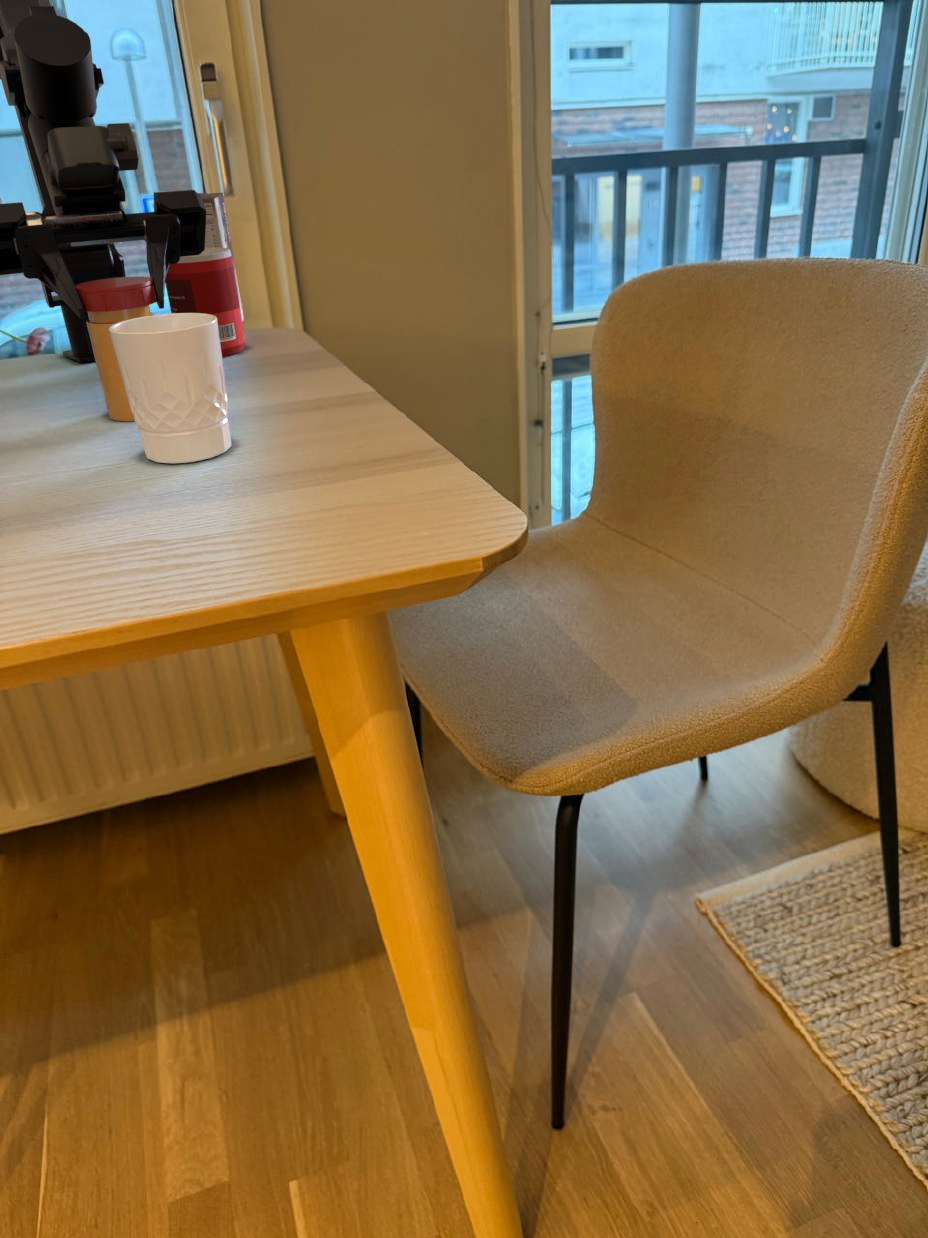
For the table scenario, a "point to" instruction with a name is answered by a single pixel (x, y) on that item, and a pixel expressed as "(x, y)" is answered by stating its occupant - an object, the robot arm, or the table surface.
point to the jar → (112, 358)
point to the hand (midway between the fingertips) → (122, 310)
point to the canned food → (209, 293)
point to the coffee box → (218, 227)
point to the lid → (116, 293)
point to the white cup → (175, 384)
